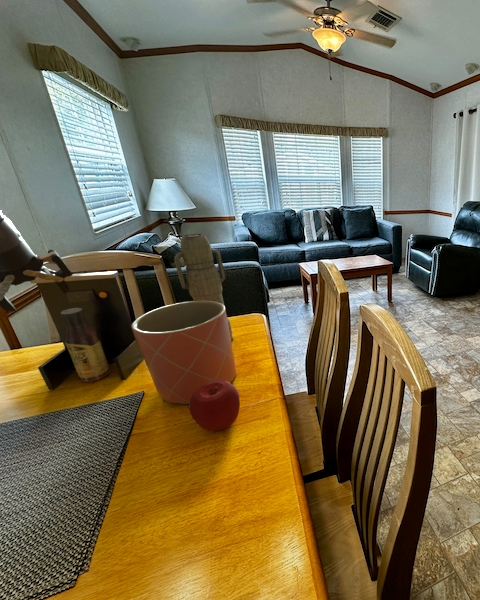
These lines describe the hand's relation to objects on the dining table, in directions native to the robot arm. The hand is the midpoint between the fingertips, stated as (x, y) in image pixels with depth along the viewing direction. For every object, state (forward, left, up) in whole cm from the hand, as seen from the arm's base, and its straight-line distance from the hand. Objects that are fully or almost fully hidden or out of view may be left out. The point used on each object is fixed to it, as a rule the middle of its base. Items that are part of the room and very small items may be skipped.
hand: (39, 299), depth 71 cm
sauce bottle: (+5, +8, -26) cm, 28 cm away
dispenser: (+6, +10, -26) cm, 29 cm away
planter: (+19, -19, -26) cm, 38 cm away
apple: (+14, -38, -26) cm, 48 cm away
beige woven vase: (+34, -1, -26) cm, 43 cm away
